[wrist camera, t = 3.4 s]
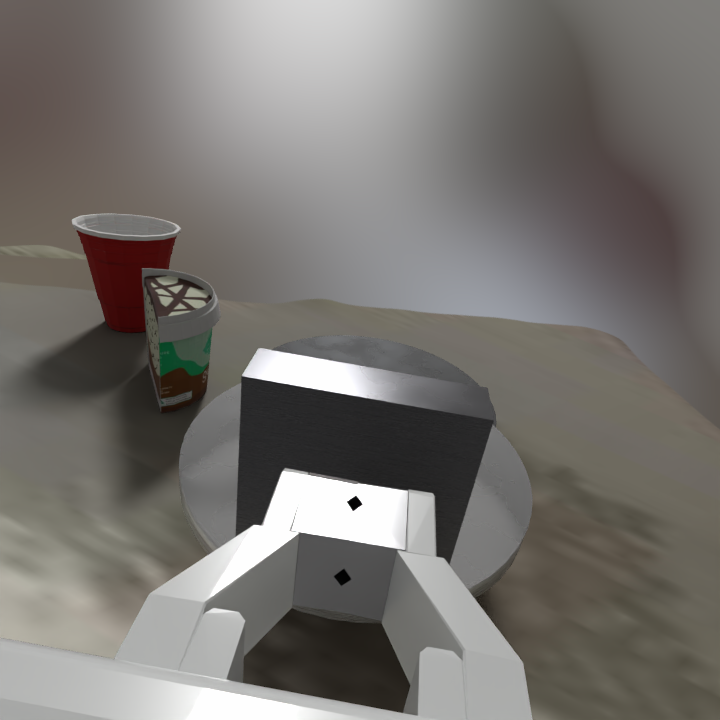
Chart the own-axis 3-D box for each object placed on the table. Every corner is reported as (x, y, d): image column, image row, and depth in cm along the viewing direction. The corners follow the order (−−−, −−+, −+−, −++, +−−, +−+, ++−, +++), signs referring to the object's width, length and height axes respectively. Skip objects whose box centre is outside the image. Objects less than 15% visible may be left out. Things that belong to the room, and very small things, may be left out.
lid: (106, 576, 22) (78, 350, 17) (242, 364, 38) (248, 217, 33) (559, 662, 21) (664, 453, 16) (502, 410, 38) (546, 267, 33)
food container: (232, 413, 51) (235, 315, 46) (163, 422, 48) (158, 320, 43) (205, 351, 60) (205, 265, 55) (146, 356, 57) (141, 266, 53)
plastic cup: (196, 312, 68) (196, 217, 63) (157, 349, 59) (152, 242, 53) (114, 297, 69) (106, 202, 63) (62, 332, 59) (47, 223, 54)
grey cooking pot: (201, 568, 35) (201, 445, 30) (270, 418, 51) (277, 321, 46) (471, 619, 34) (513, 501, 30) (457, 451, 50) (483, 356, 45)
